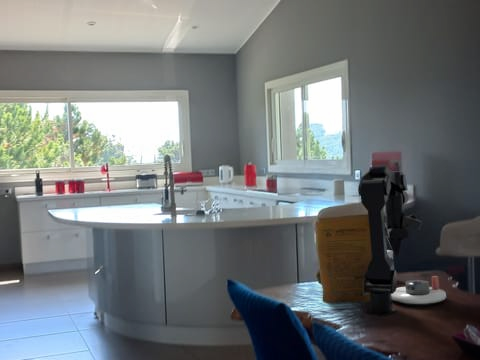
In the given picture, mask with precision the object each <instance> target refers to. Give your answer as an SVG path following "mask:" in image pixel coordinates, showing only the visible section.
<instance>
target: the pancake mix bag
mask: <svg viewBox="0 0 480 360" xmlns="http://www.w3.org/2000/svg"><path fill="white" fill-rule="evenodd" d="M314 234H315V247H316V248H315V249H316V255H317V262H318V268H319V269H318V270H320V276H321V283H322V285H321V287H322V292H323V293H322V294H323V295H322V301H323V302H325V303H330V304H343V303H345V304H348V303H368V302H370V292H365V291H364V280H365V274H366V271H367V267H368V265H369V263H370V261H371V259H372V252H371V241H370V230H369V219H368V213H367V214H365V213H364V214H352V215H343V216H336V217H335V216H332V217H320V218H318V221H315V222H314ZM370 285H372V284H370Z"/></svg>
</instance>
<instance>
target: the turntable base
mask: <svg viewBox="0 0 480 360" xmlns="http://www.w3.org/2000/svg"><path fill="white" fill-rule="evenodd" d="M399 303H400V304H402V303H403V305H406V304H407V305H408V306H414V307H415V306H416V307H419V306H421V307H422V306H431V305H432V306H433V305H434V304H437V303H438V302H435V303H426V304H414V303H404V302H399Z"/></svg>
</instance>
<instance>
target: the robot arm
mask: <svg viewBox="0 0 480 360" xmlns="http://www.w3.org/2000/svg"><path fill="white" fill-rule="evenodd" d="M358 184H359V185H358V187H357V188H358V189H357V191H358V195H359V196H360V202H361V204H362V206H363V207H364V208H365V210H366V211H367V214H368V219H369V230H370V241H371V252H372V259H371V261H370V263H369V265H368V267H367V271H366V274H365V280H364V291H365V292H370V301H369V302H370V308H369V309H366V313H369V314H373V315H379V316H388V315H390V314H393V313H394V312H397V308H393V299H392V296H391V294H393V293H394V292H395V291H396V288H397V277H398V276H397V274H398V273H397V270H396V269H395V265H394V258H393V259H392V258H389V256H388V255H387V250H388V248H387V247H388V246H387V241H388V244H389V246H390V248H391V251H393V256H395V257H398V256H399V253H400V248H401V243H402V241H403V240H404V239H407V238H408V239H409V238H410V232H409V230H408V229H407V228H410V229H413V230H415V231H417V232H418V231H420V230H421V226H422V223H423V221H421V220H419V219H418V218H417V216H416V215H414V214H410V215H408V216H406V213H405V211H404V206H405V205H406V204H407V203H408V202H409V195H408V193H407V191H408V189H409V188H408V184H407V179H406V175H405V174H404V173H403V171H401V170H399V171H393V170H392V169H390V168H389V167H388V165H372V166H370V167H369V169H368V172H366V173H365V174H363V176H361V178H360V181H359V183H358ZM384 209H385V211H384ZM386 231H387V232H386ZM370 284H371V285H370ZM381 285H385V286H381Z"/></svg>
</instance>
